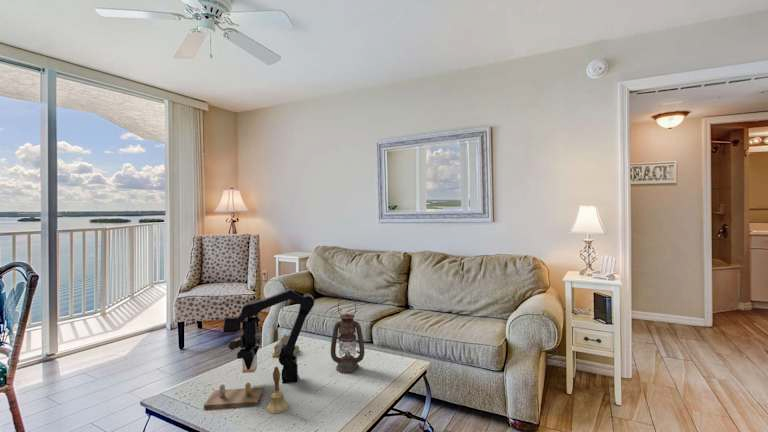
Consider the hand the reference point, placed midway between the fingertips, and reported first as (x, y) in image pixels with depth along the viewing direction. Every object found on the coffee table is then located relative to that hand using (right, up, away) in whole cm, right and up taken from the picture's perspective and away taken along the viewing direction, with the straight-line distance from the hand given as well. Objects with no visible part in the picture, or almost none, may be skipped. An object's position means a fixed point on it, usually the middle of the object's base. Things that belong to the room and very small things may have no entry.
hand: (249, 366), depth 162 cm
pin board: (-1, -8, -13) cm, 15 cm away
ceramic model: (+6, -8, +35) cm, 37 cm away
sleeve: (0, -2, 0) cm, 2 cm away
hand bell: (+18, -8, -20) cm, 28 cm away
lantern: (+42, -7, +15) cm, 45 cm away
